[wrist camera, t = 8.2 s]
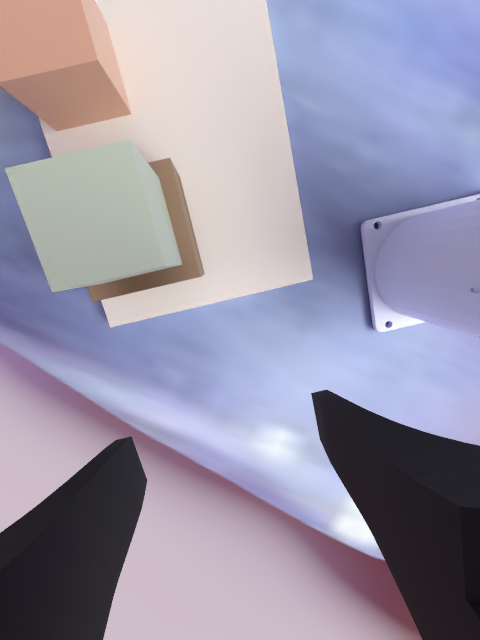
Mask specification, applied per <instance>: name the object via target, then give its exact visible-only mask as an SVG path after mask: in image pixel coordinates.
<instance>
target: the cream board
mask: <svg viewBox="0 0 480 640" xmlns="http://www.w3.org/2000/svg"><path fill="white" fill-rule="evenodd" d="M95 1H96V3H97V5H98V7H99V9H100V11H101V13H102V15H103V17H104V19H105V21H106V23H107V26H108V30H109V33H110V37H111V41H112V44H113V48H114V51H115V55H116V59H117V62H118V66H119V69H120V73H121V77H122V80H123V84H124V87H125V91H126V95H127V98H128V102H129V106H130V109H131V113H132V114H131V115H127V116H122V117H118V118H114V119H109V120H105V121H101V122H96V123H92V124H88V125H83V126H79V127H75V128H70V129H66V130H61V131H56V130H55V129H54V128H53V127H51V126H50V125H49V124H47V123H46V122H45V121H44V120H42V119H41V118H40V117H39V116H38V118H39V121H40V124H41V127H42V130H43V133H44V136H45V139H46V142H47V145H48V148H49V150H50V153H51V156H52V157H55V156H60V155H64V154H68V153H73V152H77V151H81V150H86V149H90V148H94V147H99V146H103V145H107V144H111V143H116V142H120V141H124V140H129V139H130V141H131V142H132V143H133V145H134V146H135V147H136V148H137V150H138V151H139V152H140V154H141V155H142V156H143V158H144V159H145V160H146V161H147V163H149V162H153V161H158V160H162V159H166V158H170V159H171V161H172V163H173V165H174V166H175V168H176V170H177V172H178V174H179V176H180V179H181V183H182V187H183V191H184V195H185V199H186V203H187V207H188V211H189V214H190V218H191V222H192V226H193V230H194V234H195V238H196V242H197V246H198V250H199V254H200V258H201V262H202V266H203V269H204V273H205V274H204V275H203V276H201V277H198V278H194V279H189V280H185V281H181V282H177V283H172V284H168V285H164V286H160V287H155V288H151V289H147V290H143V291H138V292H134V293H130V294H126V295H121V296H117V297H113V298H109V299H104V300H101V302H102V305H103V308H104V310H105V313H106V316H107V319H108V322H109V325H110V328H111V327H115V326H119V325H123V324H128V323H132V322H136V321H140V320H145V319H149V318H153V317H157V316H162V315H166V314H170V313H174V312H178V311H183V310H187V309H191V308H195V307H200V306H204V305H208V304H212V303H217V302H221V301H225V300H229V299H234V298H238V297H242V296H246V295H250V294H255V293H259V292H263V291H267V290H272V289H276V288H280V287H284V286H289V285H293V284H297V283H301V282H306V281H310V280H313V275H312V269H311V263H310V257H309V251H308V245H307V239H306V233H305V227H304V221H303V216H302V210H301V204H300V198H299V192H298V186H297V180H296V174H295V168H294V162H293V156H292V150H291V144H290V139H289V133H288V127H287V121H286V115H285V109H284V103H283V97H282V91H281V85H280V79H279V73H278V68H277V62H276V56H275V50H274V44H273V38H272V32H271V26H270V20H269V14H268V8H267V2H266V0H95Z"/></svg>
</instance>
